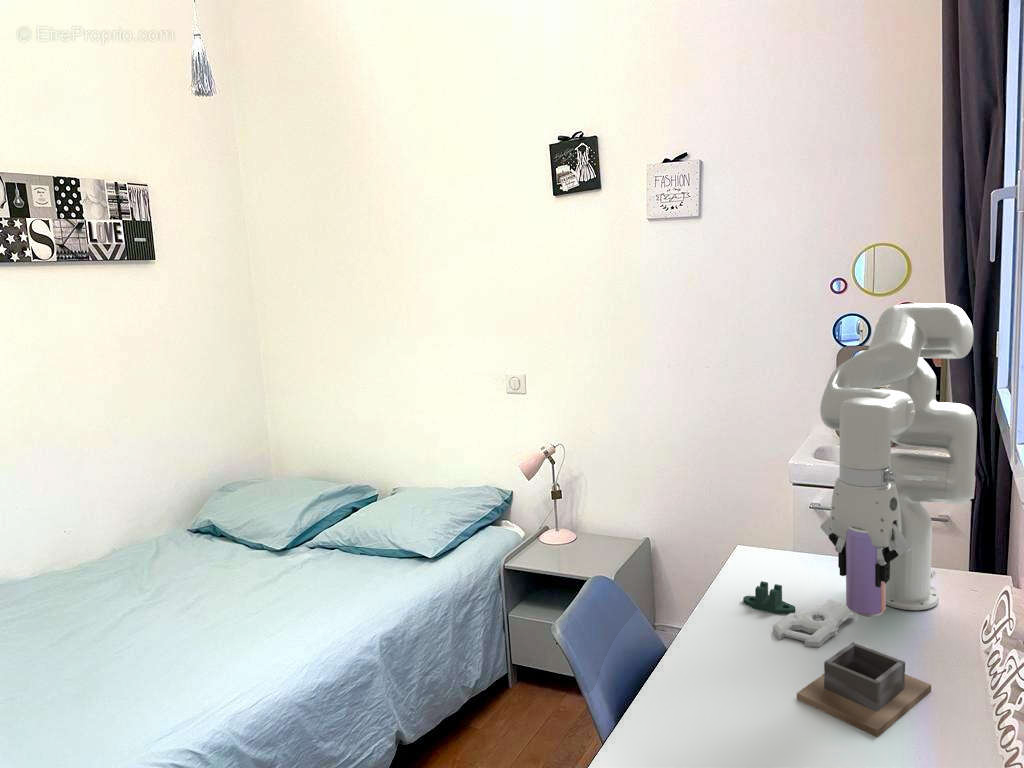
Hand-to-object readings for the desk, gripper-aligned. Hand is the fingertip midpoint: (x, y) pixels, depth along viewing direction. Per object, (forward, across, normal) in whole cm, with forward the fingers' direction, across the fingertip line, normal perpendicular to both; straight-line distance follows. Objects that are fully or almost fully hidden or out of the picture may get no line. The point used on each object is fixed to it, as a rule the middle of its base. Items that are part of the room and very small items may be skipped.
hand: (863, 577), depth 128 cm
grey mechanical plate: (+22, +18, -15) cm, 32 cm away
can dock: (+21, 0, 0) cm, 21 cm away
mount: (+22, +29, -16) cm, 40 cm away
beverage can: (+6, 0, 0) cm, 6 cm away
